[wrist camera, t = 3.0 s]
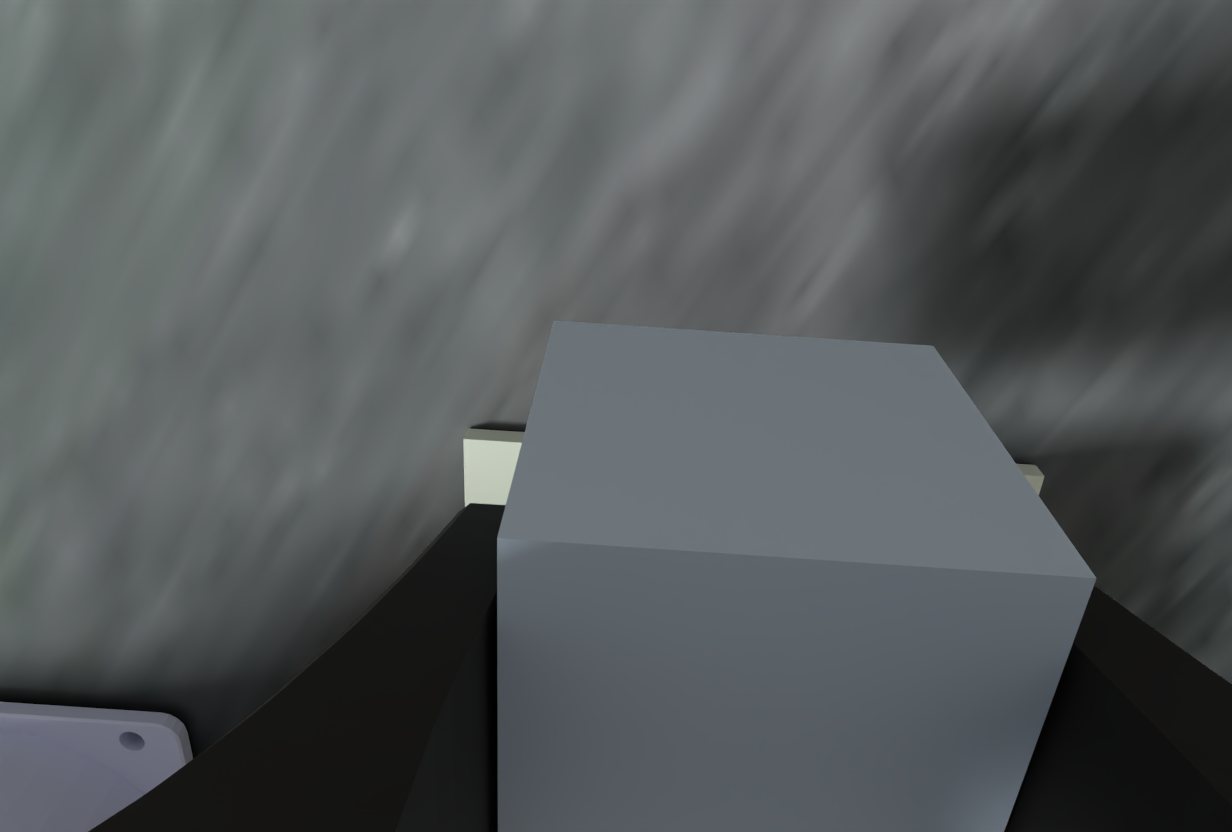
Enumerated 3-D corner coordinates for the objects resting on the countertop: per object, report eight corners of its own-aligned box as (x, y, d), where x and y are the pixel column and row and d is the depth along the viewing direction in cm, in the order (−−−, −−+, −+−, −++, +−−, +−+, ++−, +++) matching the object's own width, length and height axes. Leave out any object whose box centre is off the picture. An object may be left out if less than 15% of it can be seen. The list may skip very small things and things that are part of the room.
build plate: (474, 759, 20) (470, 773, 19) (467, 428, 16) (463, 438, 16) (939, 789, 20) (945, 805, 19) (1035, 465, 16) (1044, 476, 16)
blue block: (545, 619, 12) (498, 919, 8) (553, 320, 10) (496, 537, 6) (864, 641, 12) (959, 952, 8) (932, 345, 10) (1097, 578, 6)
